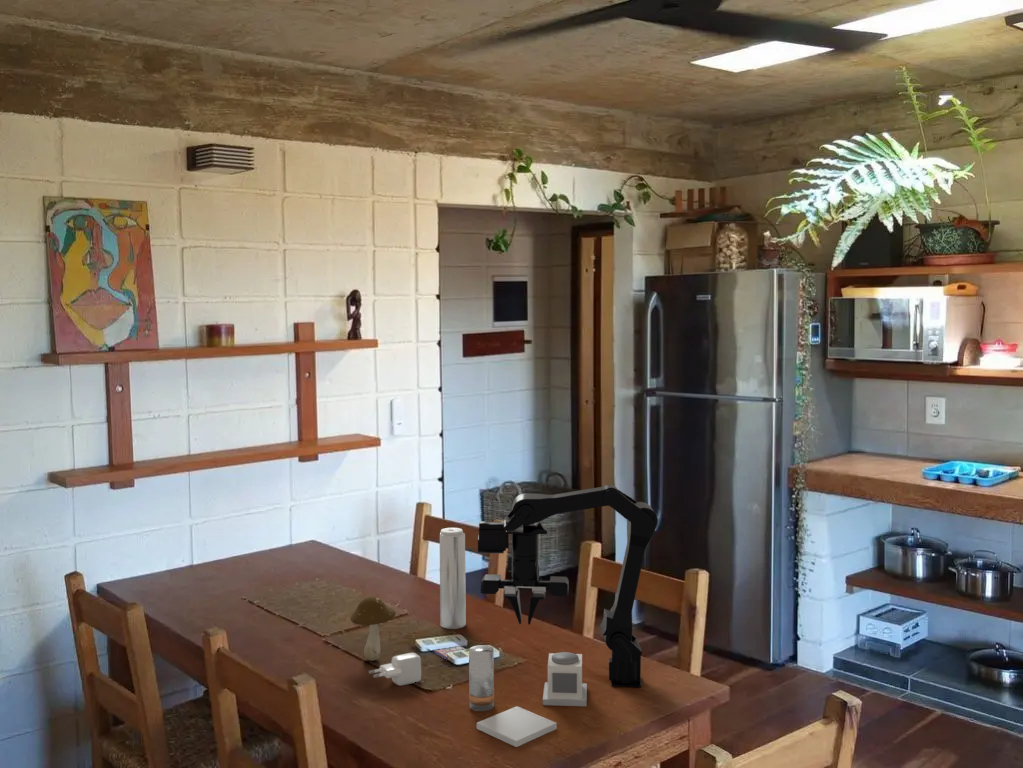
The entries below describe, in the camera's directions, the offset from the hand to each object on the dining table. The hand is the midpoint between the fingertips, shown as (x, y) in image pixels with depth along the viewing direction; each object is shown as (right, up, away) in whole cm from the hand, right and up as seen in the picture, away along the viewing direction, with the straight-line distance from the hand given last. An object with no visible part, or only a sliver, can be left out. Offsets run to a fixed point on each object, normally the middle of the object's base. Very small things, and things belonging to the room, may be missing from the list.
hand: (524, 623), depth 211 cm
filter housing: (+8, -14, -7) cm, 17 cm away
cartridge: (-9, -14, -11) cm, 20 cm away
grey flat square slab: (-2, -15, -22) cm, 27 cm away
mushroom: (-35, -12, +15) cm, 40 cm away
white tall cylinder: (-18, -10, +39) cm, 44 cm away
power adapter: (-28, -14, 0) cm, 31 cm away
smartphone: (-17, -12, +19) cm, 28 cm away
